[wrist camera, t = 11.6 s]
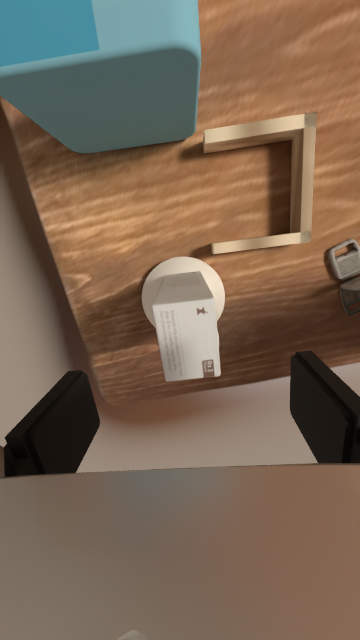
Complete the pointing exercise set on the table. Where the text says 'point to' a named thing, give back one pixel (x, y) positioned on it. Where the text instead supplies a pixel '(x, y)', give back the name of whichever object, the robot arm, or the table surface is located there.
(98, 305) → the table surface
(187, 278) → the skincare box
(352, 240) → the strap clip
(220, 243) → the stand
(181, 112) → the data package
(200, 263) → the ceramic coaster
